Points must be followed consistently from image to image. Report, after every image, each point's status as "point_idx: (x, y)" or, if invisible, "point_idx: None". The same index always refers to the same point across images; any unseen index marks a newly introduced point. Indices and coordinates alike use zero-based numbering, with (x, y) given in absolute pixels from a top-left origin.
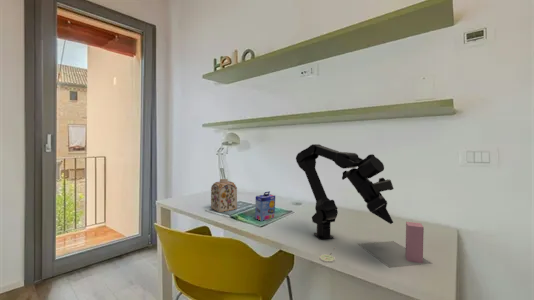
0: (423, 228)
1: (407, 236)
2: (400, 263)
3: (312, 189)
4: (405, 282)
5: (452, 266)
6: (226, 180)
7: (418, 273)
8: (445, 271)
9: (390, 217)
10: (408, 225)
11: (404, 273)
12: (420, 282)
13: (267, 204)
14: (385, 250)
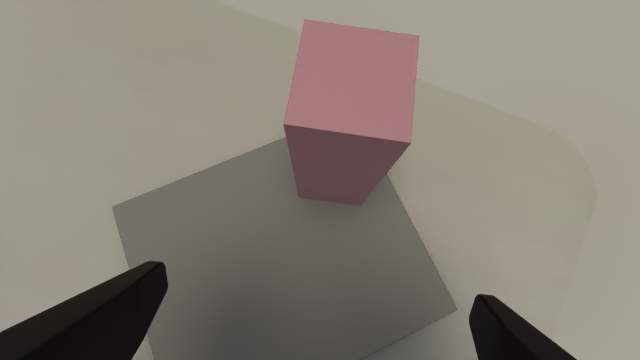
0: (416, 43)
1: (371, 172)
2: (397, 244)
3: None
4: (553, 267)
5: None
6: None
7: (453, 192)
8: None
9: (563, 351)
10: (405, 137)
11: (475, 250)
12: (527, 209)
13: None
14: (256, 283)
